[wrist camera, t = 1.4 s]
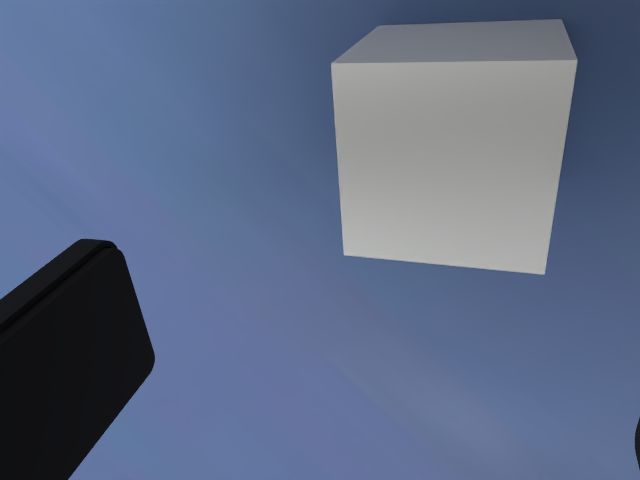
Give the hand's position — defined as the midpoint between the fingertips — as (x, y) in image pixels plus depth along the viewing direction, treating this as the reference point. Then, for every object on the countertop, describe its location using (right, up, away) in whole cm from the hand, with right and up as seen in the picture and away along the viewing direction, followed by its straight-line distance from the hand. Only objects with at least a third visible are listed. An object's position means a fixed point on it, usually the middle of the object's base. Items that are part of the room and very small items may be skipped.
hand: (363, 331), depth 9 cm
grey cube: (+4, +6, +10) cm, 13 cm away
